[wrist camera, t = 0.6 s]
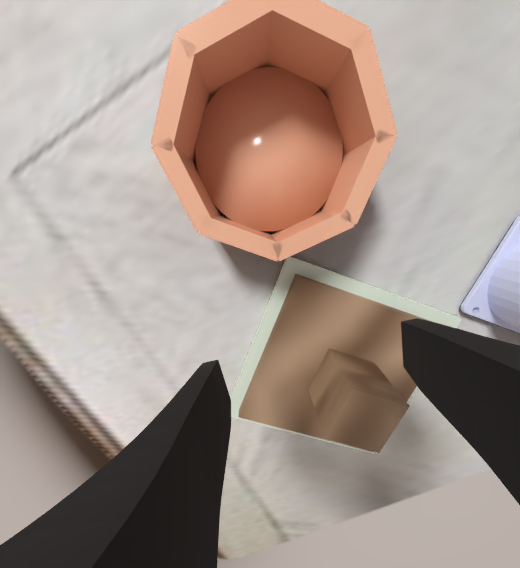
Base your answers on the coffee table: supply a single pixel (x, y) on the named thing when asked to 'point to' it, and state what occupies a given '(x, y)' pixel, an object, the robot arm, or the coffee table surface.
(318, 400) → the lid
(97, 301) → the coffee table surface
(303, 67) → the bowl
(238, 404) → the mat
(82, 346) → the coffee table surface
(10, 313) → the coffee table surface
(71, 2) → the coffee table surface
